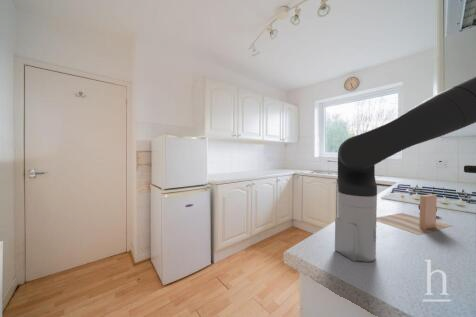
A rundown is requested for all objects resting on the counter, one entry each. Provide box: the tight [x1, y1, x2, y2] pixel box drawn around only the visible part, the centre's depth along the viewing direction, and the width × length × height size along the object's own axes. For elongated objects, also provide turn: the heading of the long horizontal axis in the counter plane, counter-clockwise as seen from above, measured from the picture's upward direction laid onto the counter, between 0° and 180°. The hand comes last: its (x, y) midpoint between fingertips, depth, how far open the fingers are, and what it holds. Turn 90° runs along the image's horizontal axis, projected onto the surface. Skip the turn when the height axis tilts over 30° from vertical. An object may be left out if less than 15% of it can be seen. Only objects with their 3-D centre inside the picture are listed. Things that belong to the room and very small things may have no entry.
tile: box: [419, 193, 438, 230], centre depth 66 cm, size 7×2×12 cm, turn 110°
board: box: [376, 212, 453, 236], centre depth 72 cm, size 22×16×1 cm
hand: (465, 168), depth 56 cm, fingers closed
